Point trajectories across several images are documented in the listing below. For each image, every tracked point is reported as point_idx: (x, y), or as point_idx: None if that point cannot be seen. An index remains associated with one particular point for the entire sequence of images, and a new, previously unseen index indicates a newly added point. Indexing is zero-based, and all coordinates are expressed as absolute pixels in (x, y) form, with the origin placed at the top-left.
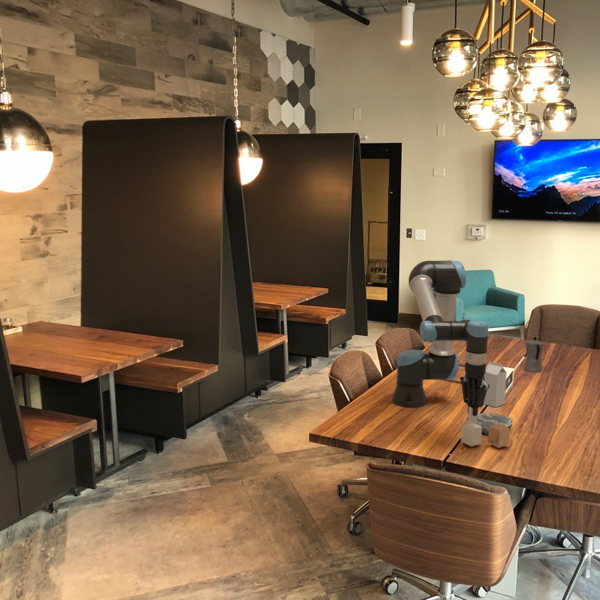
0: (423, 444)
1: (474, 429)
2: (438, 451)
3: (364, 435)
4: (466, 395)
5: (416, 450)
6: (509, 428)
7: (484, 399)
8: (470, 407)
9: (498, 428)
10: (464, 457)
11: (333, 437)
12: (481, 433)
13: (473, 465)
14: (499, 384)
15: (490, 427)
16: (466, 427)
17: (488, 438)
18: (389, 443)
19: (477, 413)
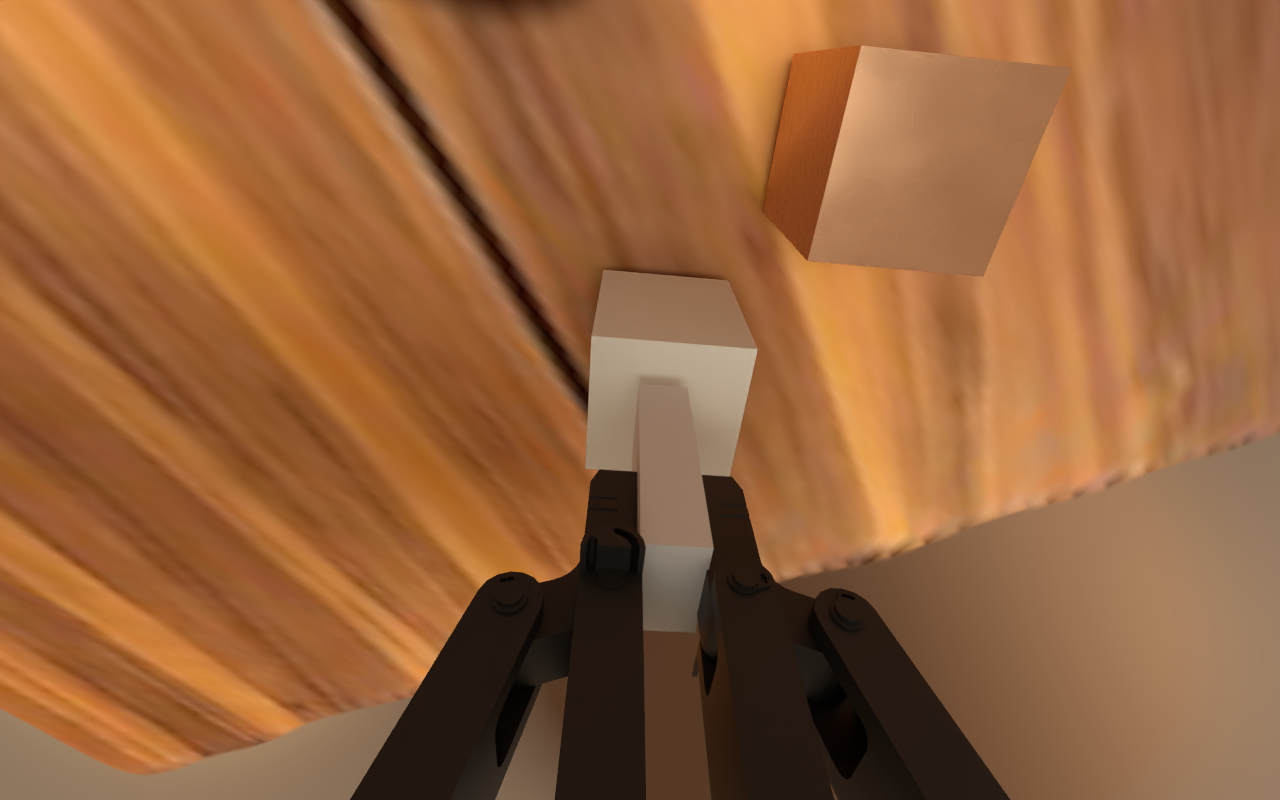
0: (470, 547)
1: (734, 446)
2: None
3: (220, 672)
4: (489, 785)
5: None
6: (1066, 70)
7: (989, 774)
8: (664, 627)
9: (936, 223)
10: (764, 503)
11: (209, 755)
12: (743, 319)
13: (867, 540)
14: None
15: (827, 260)
16: None
17: (772, 220)
18: (374, 651)
19: (744, 506)
